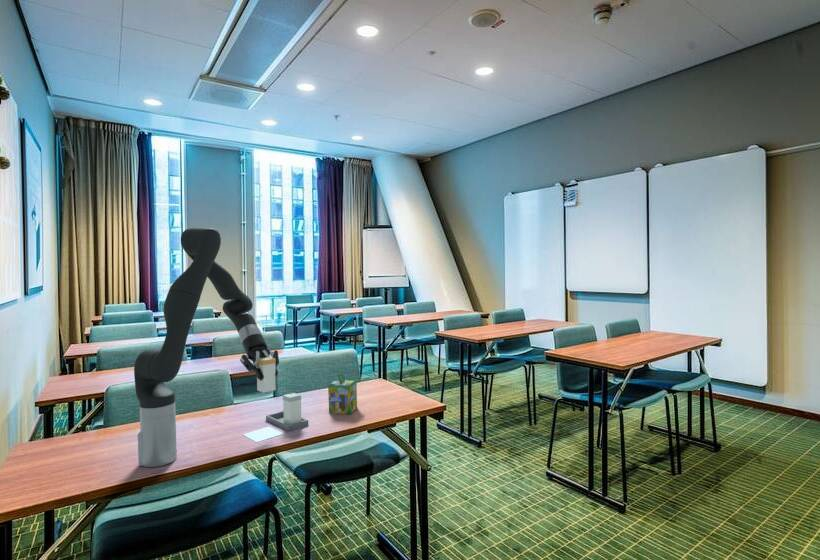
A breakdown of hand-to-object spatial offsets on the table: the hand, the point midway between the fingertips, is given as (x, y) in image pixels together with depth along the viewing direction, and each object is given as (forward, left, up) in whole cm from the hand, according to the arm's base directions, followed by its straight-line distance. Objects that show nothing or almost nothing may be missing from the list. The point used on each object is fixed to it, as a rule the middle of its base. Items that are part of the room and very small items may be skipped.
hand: (269, 377), depth 153 cm
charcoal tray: (+5, +8, -19) cm, 22 cm away
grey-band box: (+7, +5, -19) cm, 21 cm away
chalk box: (+26, +18, -20) cm, 37 cm away
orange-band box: (-1, +1, -5) cm, 5 cm away
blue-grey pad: (-2, -2, -19) cm, 20 cm away
